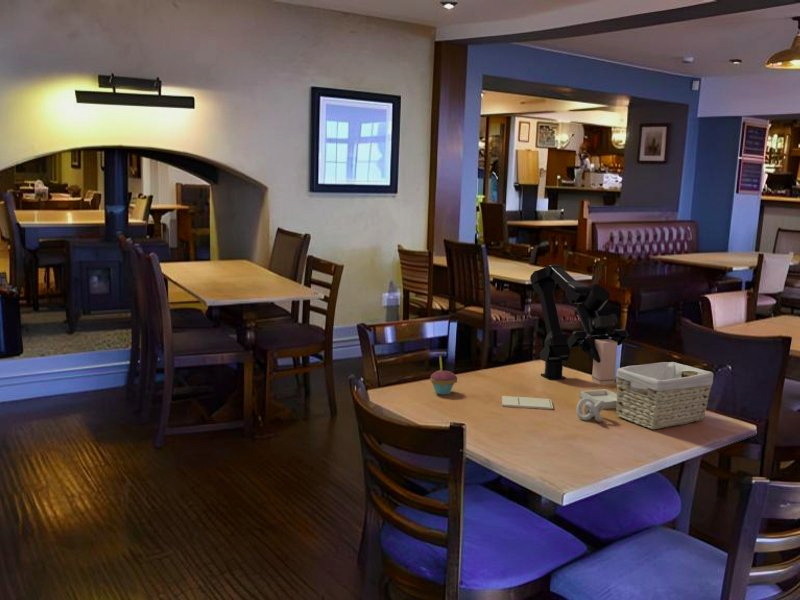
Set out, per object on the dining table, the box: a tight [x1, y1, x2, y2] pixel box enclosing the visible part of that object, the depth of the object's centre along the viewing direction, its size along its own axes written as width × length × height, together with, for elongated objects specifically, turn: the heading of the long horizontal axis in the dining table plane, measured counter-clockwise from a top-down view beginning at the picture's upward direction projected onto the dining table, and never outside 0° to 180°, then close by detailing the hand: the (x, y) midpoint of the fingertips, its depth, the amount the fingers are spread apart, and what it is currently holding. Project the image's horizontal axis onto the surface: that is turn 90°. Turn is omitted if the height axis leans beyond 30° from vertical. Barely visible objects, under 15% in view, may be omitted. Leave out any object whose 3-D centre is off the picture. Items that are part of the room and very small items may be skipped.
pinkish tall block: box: [591, 339, 618, 386], centre depth 217 cm, size 5×5×13 cm
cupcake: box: [430, 355, 458, 396], centre depth 224 cm, size 9×8×12 cm
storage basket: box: [615, 361, 715, 430], centre depth 204 cm, size 24×16×15 cm
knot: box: [575, 398, 605, 423], centre depth 202 cm, size 8×8×6 cm
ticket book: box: [501, 395, 554, 410], centre depth 216 cm, size 9×15×1 cm, turn 83°
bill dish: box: [578, 388, 617, 410], centre depth 220 cm, size 12×10×2 cm
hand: (607, 361), depth 216 cm, fingers closed on pinkish tall block, 5 cm apart
